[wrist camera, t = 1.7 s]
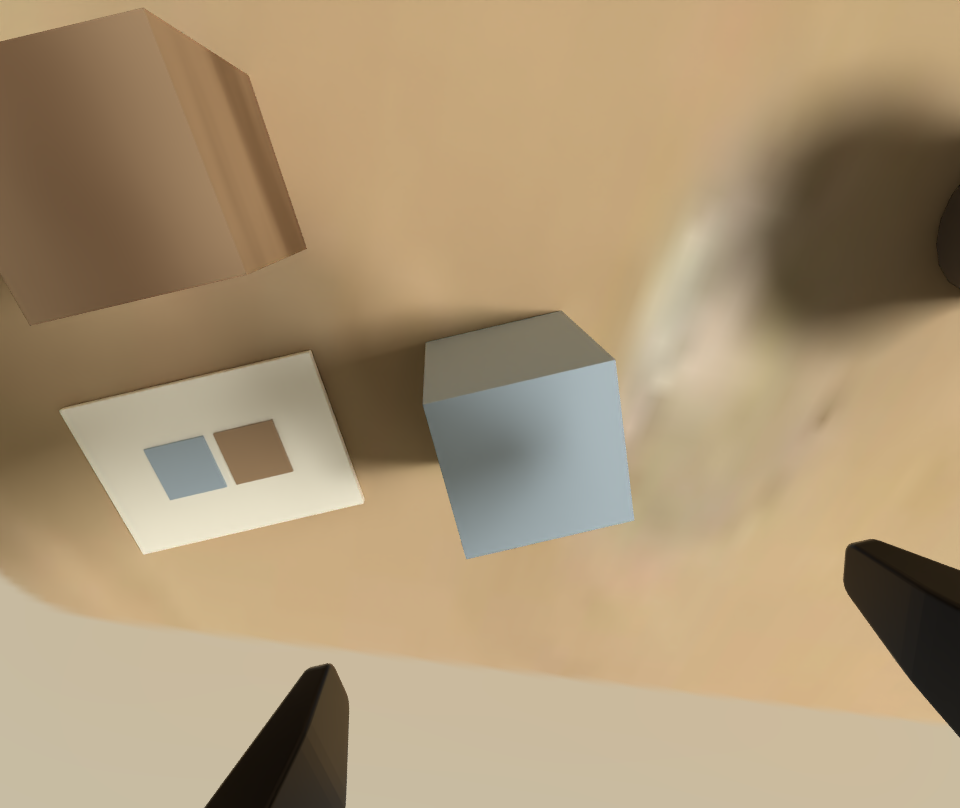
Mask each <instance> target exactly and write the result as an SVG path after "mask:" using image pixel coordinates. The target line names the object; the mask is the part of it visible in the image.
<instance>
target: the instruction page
mask: <svg viewBox="0 0 960 808" xmlns="http://www.w3.org/2000/svg"><path fill="white" fill-rule="evenodd" d="M59 412H60V414H61V416H62V417H63V419H64V421H65V422H66V424H67V426H68V427H69V429H70V431H71V433H72V434H73V436H74V438H75V439H76V441H77V443H78V444H79V446H80V448H81V449H82V451H83V453H84V455H85V456H86V458H87V460H88V461H89V463H90V465H91V466H92V468H93V470H94V472H95V473H96V475H97V477H98V478H99V480H100V482H101V483H102V485H103V487H104V488H105V490H106V492H107V494H108V495H109V497H110V499H111V500H112V502H113V504H114V505H115V507H116V509H117V511H118V512H119V514H120V516H121V517H122V519H123V521H124V522H125V524H126V526H127V527H128V529H129V531H130V533H131V534H132V536H133V538H134V539H135V541H136V543H137V544H138V546H139V548H140V550H141V551H142V553H143V555H144V554H148V553H152V552H157V551H161V550H165V549H169V548H174V547H178V546H182V545H187V544H191V543H195V542H200V541H204V540H208V539H212V538H217V537H221V536H225V535H230V534H234V533H238V532H243V531H247V530H251V529H256V528H260V527H264V526H268V525H273V524H277V523H281V522H286V521H290V520H294V519H299V518H303V517H307V516H311V515H316V514H320V513H324V512H329V511H333V510H337V509H342V508H346V507H350V506H355V505H359V504H363V503H364V500H365V499H364V496H363V493H362V491H361V488H360V485H359V482H358V479H357V477H356V474H355V471H354V468H353V466H352V463H351V460H350V457H349V454H348V452H347V449H346V446H345V443H344V441H343V438H342V435H341V432H340V430H339V427H338V424H337V421H336V418H335V416H334V413H333V410H332V407H331V405H330V402H329V399H328V396H327V393H326V391H325V388H324V385H323V382H322V380H321V377H320V374H319V371H318V368H317V366H316V363H315V360H314V357H313V355H312V352H311V350H308V351H303V352H299V353H295V354H290V355H286V356H282V357H278V358H273V359H269V360H265V361H261V362H256V363H252V364H248V365H243V366H239V367H235V368H231V369H226V370H222V371H218V372H214V373H209V374H205V375H201V376H196V377H192V378H188V379H184V380H179V381H175V382H171V383H167V384H162V385H158V386H154V387H150V388H145V389H141V390H137V391H132V392H128V393H124V394H120V395H115V396H111V397H107V398H103V399H98V400H94V401H90V402H85V403H81V404H77V405H73V406H68V407H64V408H63V409H61V410H59Z"/></svg>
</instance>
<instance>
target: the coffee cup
mask: <svg viewBox="0 0 960 808" xmlns="http://www.w3.org/2000/svg"><path fill="white" fill-rule="evenodd" d="M936 245H937V252H938V260H939V266H940V267H941V269H942V271H943V273H944V274H945V276H946V278H947V279H948V281H949V282H950V283H952V284H953V285H955V286H956V287H958V288H959V289H960V185H959V187H958V188H957V189H956V191H955V192H954V193H953V195H952V197H951V199H950V201H949V203H948V205H947V208H946V210H945V212H944V214H943V216H942V218H941V222H940V227H939V233H938V238H937V244H936Z"/></svg>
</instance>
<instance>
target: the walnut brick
mask: <svg viewBox="0 0 960 808" xmlns="http://www.w3.org/2000/svg"><path fill="white" fill-rule="evenodd" d="M305 249H307V248H306V245H305V242H304V239H303V236H302V233H301V230H300V227H299V224H298V221H297V218H296V215H295V212H294V209H293V206H292V203H291V200H290V197H289V194H288V191H287V188H286V185H285V182H284V180H283V177H282V174H281V171H280V168H279V165H278V162H277V159H276V156H275V153H274V150H273V147H272V144H271V141H270V138H269V135H268V132H267V129H266V126H265V123H264V120H263V117H262V114H261V111H260V108H259V105H258V102H257V99H256V96H255V93H254V90H253V87H252V84H251V81H250V78H249V76H248V75H247V74H246V73H244V72H242V71H241V70H239V69H238V68H236V67H235V66H233V65H232V64H230V63H228V62H227V61H225V60H224V59H222V58H221V57H219V56H218V55H216V54H214V53H213V52H211V51H210V50H208V49H207V48H205V47H204V46H202V45H200V44H199V43H197V42H196V41H194V40H193V39H191V38H190V37H188V36H186V35H185V34H183V33H182V32H180V31H179V30H177V29H176V28H174V27H172V26H171V25H169V24H168V23H166V22H165V21H163V20H162V19H160V18H158V17H157V16H155V15H154V14H152V13H151V12H149V11H148V10H146V9H144V8H140V9H136V10H131V11H127V12H123V13H119V14H115V15H110V16H106V17H102V18H98V19H94V20H89V21H85V22H81V23H77V24H73V25H68V26H64V27H60V28H56V29H51V30H47V31H43V32H39V33H35V34H30V35H26V36H22V37H18V38H14V39H9V40H5V41H1V42H0V274H1V276H2V278H3V280H4V281H5V283H6V285H7V287H8V288H9V290H10V292H11V294H12V295H13V297H14V299H15V301H16V302H17V304H18V306H19V308H20V309H21V311H22V313H23V315H24V316H25V318H26V320H27V322H28V323H29V325H30V326H31V325H35V324H39V323H44V322H48V321H52V320H56V319H61V318H65V317H69V316H73V315H78V314H82V313H86V312H90V311H95V310H99V309H103V308H107V307H112V306H116V305H120V304H124V303H129V302H133V301H137V300H141V299H146V298H150V297H154V296H158V295H163V294H167V293H171V292H175V291H180V290H184V289H188V288H192V287H197V286H201V285H205V284H209V283H214V282H218V281H222V280H226V279H231V278H235V277H239V276H243V275H247V274H249V273H252V272H254V271H256V270H259V269H261V268H263V267H266V266H268V265H270V264H272V263H275V262H277V261H279V260H282V259H284V258H286V257H289V256H291V255H293V254H295V253H298V252H300V251H302V250H305Z"/></svg>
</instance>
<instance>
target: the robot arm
mask: <svg viewBox="0 0 960 808" xmlns="http://www.w3.org/2000/svg"><path fill="white" fill-rule="evenodd" d="M843 582H844V586H845V589H846V591H847V593H848V595H849V596H850V598H851V599H852V601H853V602H854V603H855V605H856V606H857V608H858V609H859V610H860V612H861V613H862V614H863V616H864V617H865V619H866V620H867V621H868V623H869V624H870V626H871V627H872V628H873V630H874V631H875V632H876V634H877V635H878V637H879V638H880V639H881V641H882V642H883V644H884V645H885V646H886V648H887V649H888V650H889V652H890V653H891V655H892V656H893V657H894V659H895V660H896V662H897V663H898V664H899V666H900V667H901V668H902V670H903V671H904V672H905V674H906V675H907V676H908V677H909V679H910V680H911V681H912V682H913V684H914V685H915V686H916V687H917V688H918V690H919V691H920V692H921V693H922V694H923V696H924V697H925V698H926V699H927V700H928V701H929V703H930V704H931V705H932V706H933V707H934V708H935V710H936V711H937V712H938V713H939V714H940V715H941V716H942V718H943V719H944V720H945V721H946V722H947V723H948V725H949V726H950V727H951V728H952V729H953V730H954V731H955V733H956V734H957V735H958V736H959V737H960V570H958V569H955V568H952V567H949V566H947V565H944V564H941V563H939V562H936V561H933V560H931V559H928V558H925V557H922V556H920V555H917V554H914V553H912V552H909V551H906V550H903V549H901V548H898V547H895V546H893V545H890V544H887V543H885V542H882V541H879V540H875V539H868V540H864V541H859V542H855V543H851V544H849V545H848V546H847V548H846V551H845V564H844V576H843ZM348 728H349V701H348V696H347V694H346V691H345V689H344V687H343V685H342V682H341V680H340V678H339V676H338V674H337V671H336V669H335V668H334V666H333V665H332V664H328V663H327V664H323V665H319V666H314V667H310V668H309V669H307V670H306V671H305V672H304V673H303V675H302V676H301V677H300V679H299V680H298V681H297V683H296V684H295V685H294V687H293V688H292V689H291V691H290V692H289V694H288V695H287V696H286V697H285V699H284V700H283V702H282V703H281V704H280V706H279V707H278V708H277V710H276V711H275V713H274V714H273V715H272V717H271V718H270V719H269V721H268V722H267V723H266V725H265V726H264V728H263V729H262V730H261V732H260V733H259V734H258V736H257V737H256V738H255V740H254V741H253V742H252V744H251V745H250V746H249V748H248V749H247V751H246V752H245V753H244V755H243V756H242V757H241V759H240V760H239V761H238V763H237V764H236V765H235V767H234V768H233V770H232V771H231V772H230V774H229V775H228V776H227V778H226V779H225V780H224V782H223V783H222V784H221V786H220V787H219V789H218V790H217V791H216V793H215V794H214V795H213V797H212V798H211V799H210V801H209V802H208V804H207V805H206V806H205V808H345V806H346V786H347V785H346V784H347V757H348V756H347V755H348Z"/></svg>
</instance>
